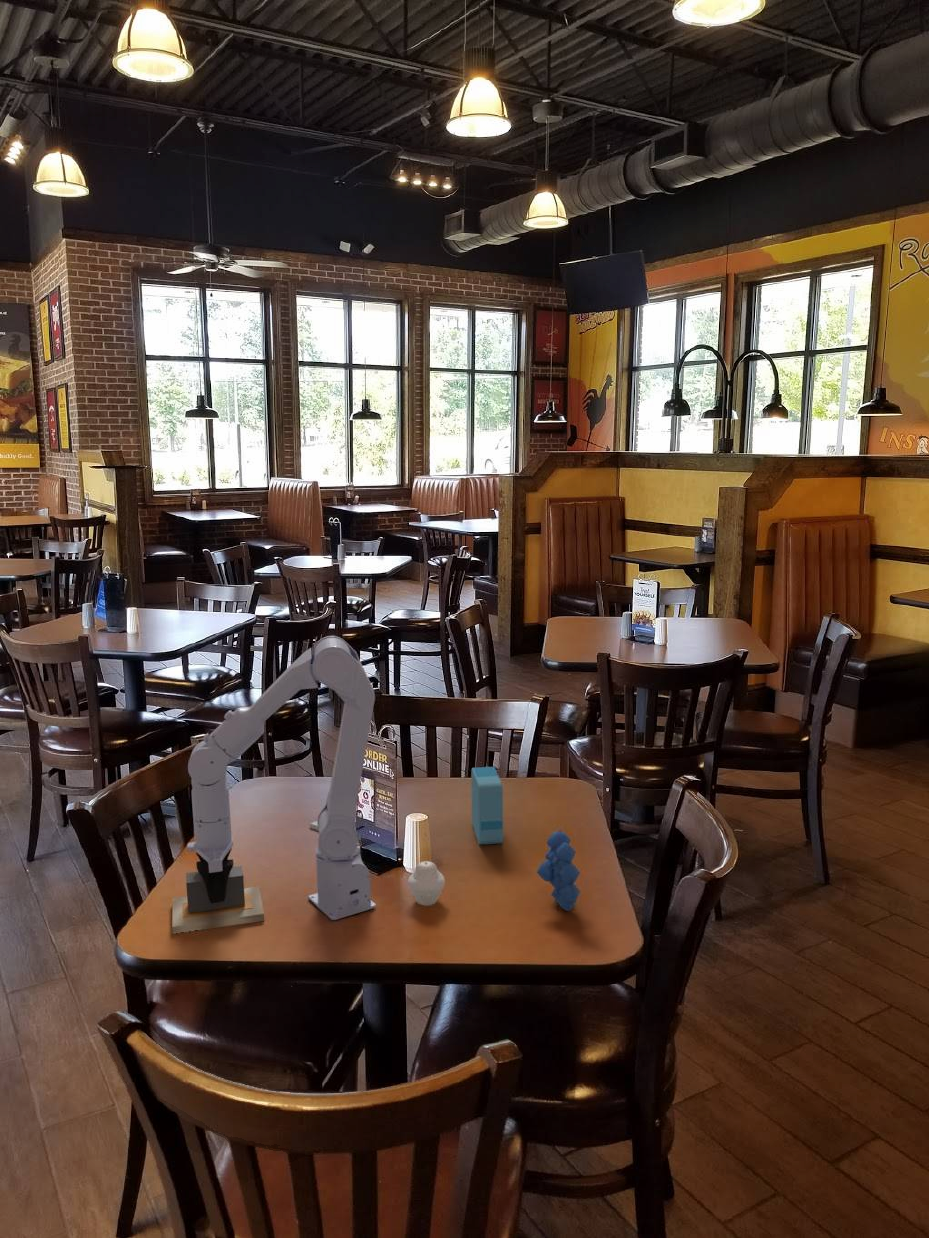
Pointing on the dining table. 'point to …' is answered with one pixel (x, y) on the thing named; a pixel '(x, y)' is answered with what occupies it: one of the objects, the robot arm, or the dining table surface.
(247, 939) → the dining table surface
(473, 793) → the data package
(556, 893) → the grapes
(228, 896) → the block
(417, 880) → the muffin
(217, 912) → the board
